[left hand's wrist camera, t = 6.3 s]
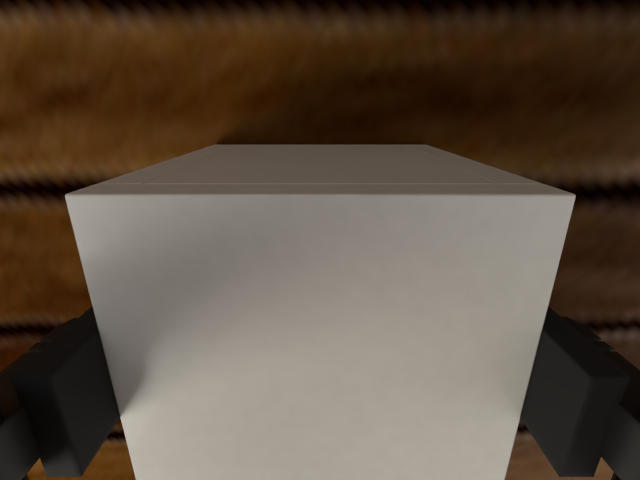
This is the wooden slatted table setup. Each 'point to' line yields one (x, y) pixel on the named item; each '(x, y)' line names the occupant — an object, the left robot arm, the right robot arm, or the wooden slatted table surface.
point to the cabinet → (320, 309)
